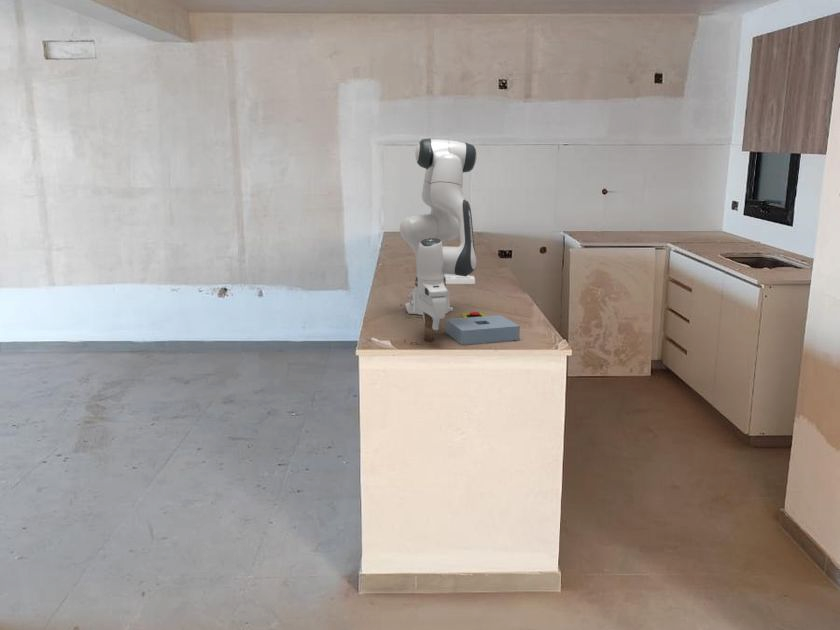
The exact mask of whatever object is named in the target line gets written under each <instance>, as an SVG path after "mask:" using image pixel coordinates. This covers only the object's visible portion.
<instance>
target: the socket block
mask: <svg viewBox="0 0 840 630" xmlns="http://www.w3.org/2000/svg"><path fill="white" fill-rule="evenodd" d="M520 327H521V326H520V325H519V324H517V323H516V322H513V321H512V320H510V319H508V318H507V317H505V316H503V315H501V314H498V315H486V316H482V317H468V318H461V317H458V318H457V317H455V318H446V319H445V333H446V334H447V335H448V336H449V335H450V336H449V337H451V338H452V339H453V340H455V341H456V342H457V343H458V344H460V345H461V346H467V345H468V346H469V345H478V344H479V345H481V344H489V343H491V344H492V343H502V342H504V341H505V342H514V341H513V340H516V341H520V334H521V333H520V329H521V328H520Z"/></svg>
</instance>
